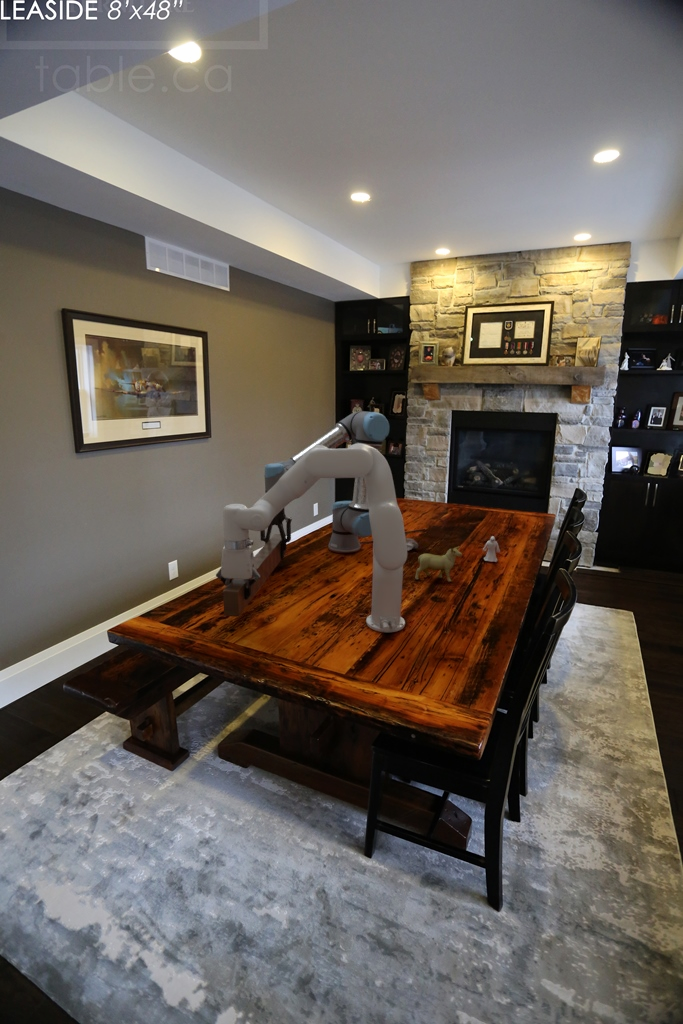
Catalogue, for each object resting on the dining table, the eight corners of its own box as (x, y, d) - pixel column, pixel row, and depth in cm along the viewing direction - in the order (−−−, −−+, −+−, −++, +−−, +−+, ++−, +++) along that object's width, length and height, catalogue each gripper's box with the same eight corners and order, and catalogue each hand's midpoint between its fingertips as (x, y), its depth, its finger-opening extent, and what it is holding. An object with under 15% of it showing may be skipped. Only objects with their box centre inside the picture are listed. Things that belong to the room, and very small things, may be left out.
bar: (238, 616, 154) (237, 591, 152) (224, 615, 155) (222, 590, 153) (286, 553, 213) (285, 534, 211) (275, 552, 214) (274, 534, 212)
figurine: (481, 562, 222) (483, 536, 219) (482, 556, 230) (484, 531, 227) (499, 564, 220) (501, 538, 217) (499, 558, 228) (501, 533, 225)
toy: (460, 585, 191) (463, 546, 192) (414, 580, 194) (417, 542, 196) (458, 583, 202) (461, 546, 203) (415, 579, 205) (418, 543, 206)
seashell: (406, 557, 238) (396, 544, 238) (411, 550, 242) (401, 537, 241) (417, 552, 232) (406, 539, 232) (422, 545, 236) (412, 532, 235)
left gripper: (298, 501, 203) (299, 555, 209) (256, 499, 205) (257, 553, 211) (294, 505, 196) (295, 561, 201) (250, 503, 198) (252, 559, 204)
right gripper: (266, 541, 159) (267, 594, 164) (215, 538, 161) (218, 591, 166) (259, 548, 152) (261, 604, 156) (206, 545, 154) (209, 600, 159)
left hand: (276, 557), depth 206 cm, fingers closed on bar, 5 cm apart
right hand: (239, 596), depth 161 cm, fingers closed on bar, 4 cm apart
